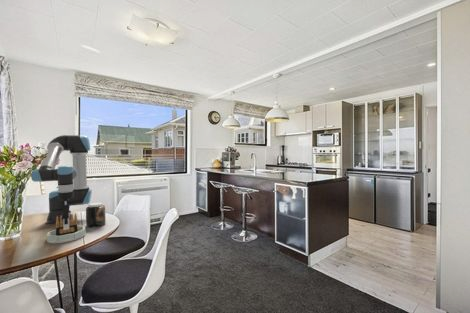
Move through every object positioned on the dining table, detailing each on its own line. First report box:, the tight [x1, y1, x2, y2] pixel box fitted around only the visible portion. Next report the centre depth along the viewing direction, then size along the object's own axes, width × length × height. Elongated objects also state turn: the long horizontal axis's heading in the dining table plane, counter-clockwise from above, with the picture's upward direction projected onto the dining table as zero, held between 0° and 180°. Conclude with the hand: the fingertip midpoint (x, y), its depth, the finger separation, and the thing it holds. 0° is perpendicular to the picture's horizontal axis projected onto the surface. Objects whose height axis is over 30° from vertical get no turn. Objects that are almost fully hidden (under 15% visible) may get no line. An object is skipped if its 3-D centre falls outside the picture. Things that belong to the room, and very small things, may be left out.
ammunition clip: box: [55, 213, 78, 236], centre depth 137 cm, size 11×2×12 cm, turn 125°
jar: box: [85, 202, 107, 228], centre depth 160 cm, size 12×12×15 cm
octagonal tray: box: [46, 225, 87, 244], centre depth 137 cm, size 19×19×4 cm
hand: (66, 226), depth 137 cm, fingers open, 13 cm apart
